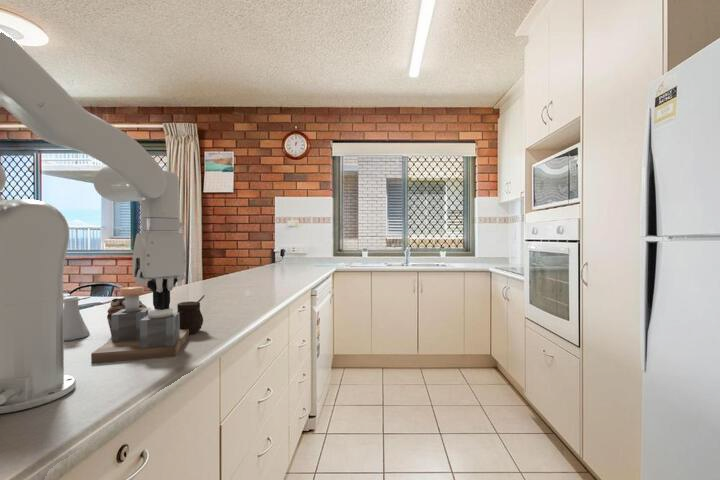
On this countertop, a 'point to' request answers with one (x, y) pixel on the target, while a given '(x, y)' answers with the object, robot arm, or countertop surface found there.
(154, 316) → the white round part
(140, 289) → the orange rounded piece
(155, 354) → the board
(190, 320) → the mate gourd
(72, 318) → the flask
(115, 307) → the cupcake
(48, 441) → the countertop surface
